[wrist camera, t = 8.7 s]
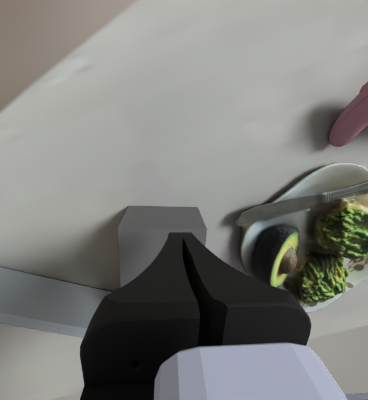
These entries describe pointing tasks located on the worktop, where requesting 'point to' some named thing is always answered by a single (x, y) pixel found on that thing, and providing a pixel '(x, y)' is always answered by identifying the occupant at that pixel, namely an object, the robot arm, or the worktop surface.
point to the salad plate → (311, 236)
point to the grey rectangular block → (152, 235)
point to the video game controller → (351, 120)
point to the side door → (47, 303)
